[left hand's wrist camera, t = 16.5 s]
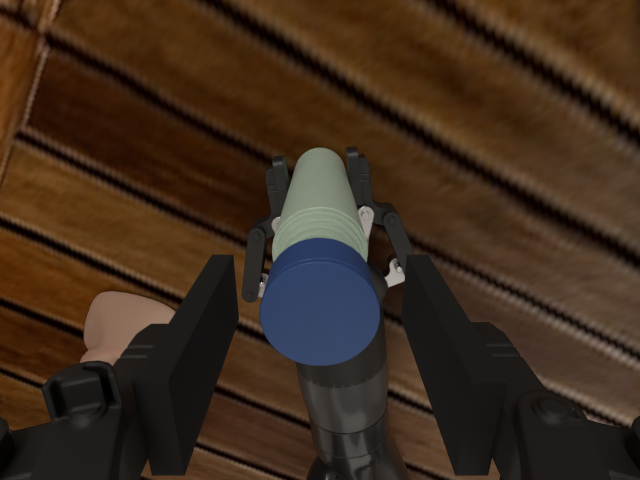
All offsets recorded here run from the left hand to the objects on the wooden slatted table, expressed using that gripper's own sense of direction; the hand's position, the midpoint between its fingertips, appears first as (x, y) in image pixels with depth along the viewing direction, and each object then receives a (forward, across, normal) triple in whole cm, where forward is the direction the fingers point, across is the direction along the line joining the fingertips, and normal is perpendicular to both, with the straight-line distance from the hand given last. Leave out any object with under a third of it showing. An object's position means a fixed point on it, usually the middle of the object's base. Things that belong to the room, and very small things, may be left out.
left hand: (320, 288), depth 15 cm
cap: (-2, 0, 0) cm, 2 cm away
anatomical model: (+21, +18, +18) cm, 33 cm away
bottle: (+21, 0, 0) cm, 21 cm away
